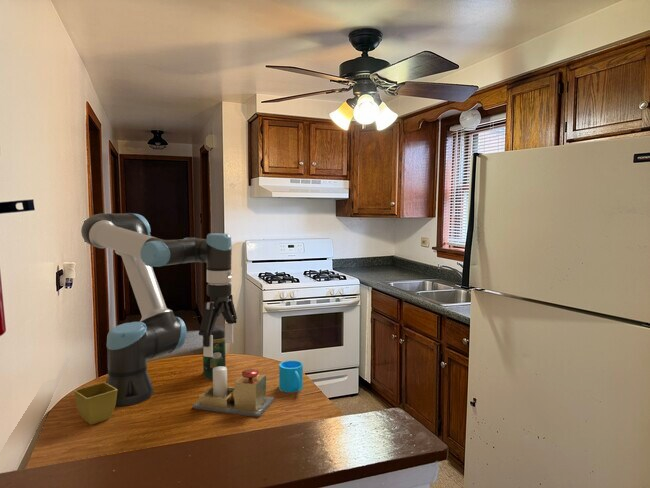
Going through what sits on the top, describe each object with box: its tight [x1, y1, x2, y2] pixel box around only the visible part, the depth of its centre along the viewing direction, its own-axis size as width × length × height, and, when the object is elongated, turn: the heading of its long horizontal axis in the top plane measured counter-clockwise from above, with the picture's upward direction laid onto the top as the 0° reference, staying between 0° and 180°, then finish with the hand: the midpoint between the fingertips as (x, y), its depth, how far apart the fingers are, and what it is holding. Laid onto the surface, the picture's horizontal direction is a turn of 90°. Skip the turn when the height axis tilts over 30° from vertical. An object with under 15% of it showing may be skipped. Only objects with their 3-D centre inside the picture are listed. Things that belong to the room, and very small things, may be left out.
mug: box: [278, 360, 304, 393], centre depth 150 cm, size 12×8×8 cm
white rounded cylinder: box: [212, 366, 228, 398], centre depth 139 cm, size 4×4×10 cm
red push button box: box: [192, 368, 275, 418], centre depth 138 cm, size 22×12×11 cm, turn 75°
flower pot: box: [73, 381, 118, 425], centre depth 127 cm, size 9×9×9 cm
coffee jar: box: [202, 323, 227, 380], centre depth 162 cm, size 10×8×19 cm
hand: (219, 349), depth 139 cm, fingers open, 13 cm apart
